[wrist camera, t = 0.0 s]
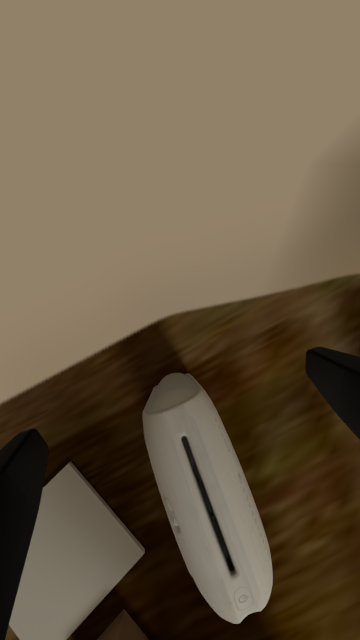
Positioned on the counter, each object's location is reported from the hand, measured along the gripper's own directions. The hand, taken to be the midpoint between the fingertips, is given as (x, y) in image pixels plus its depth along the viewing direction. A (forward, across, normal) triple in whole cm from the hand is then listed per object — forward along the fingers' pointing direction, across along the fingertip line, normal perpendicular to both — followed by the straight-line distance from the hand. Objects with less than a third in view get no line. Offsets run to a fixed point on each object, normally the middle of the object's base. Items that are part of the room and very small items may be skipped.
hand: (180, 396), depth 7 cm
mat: (+6, +14, +19) cm, 24 cm away
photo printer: (+10, 0, +13) cm, 16 cm away
